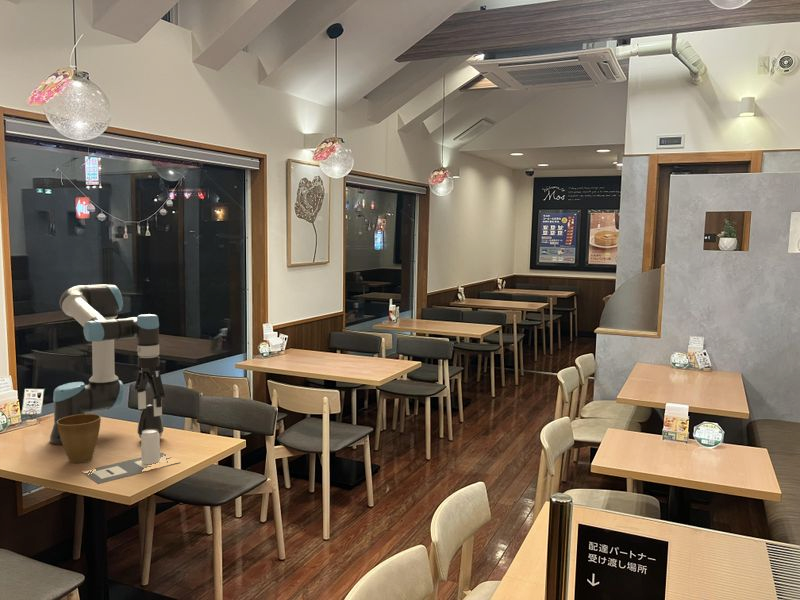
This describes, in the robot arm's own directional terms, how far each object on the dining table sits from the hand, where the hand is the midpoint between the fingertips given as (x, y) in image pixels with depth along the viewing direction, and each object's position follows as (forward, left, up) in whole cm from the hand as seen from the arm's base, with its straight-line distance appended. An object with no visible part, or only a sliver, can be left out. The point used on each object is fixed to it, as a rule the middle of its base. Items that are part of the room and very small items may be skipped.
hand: (149, 412), depth 233 cm
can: (0, 0, -19) cm, 19 cm away
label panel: (0, -7, -19) cm, 21 cm away
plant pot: (-21, -18, -20) cm, 34 cm away
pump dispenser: (-27, +12, -20) cm, 36 cm away
